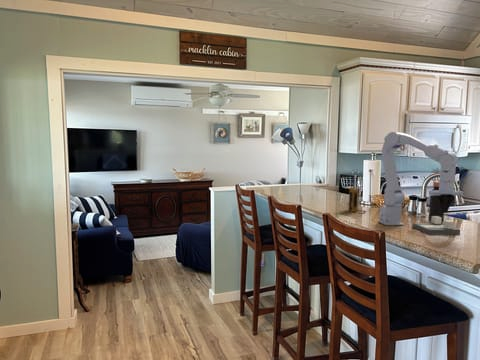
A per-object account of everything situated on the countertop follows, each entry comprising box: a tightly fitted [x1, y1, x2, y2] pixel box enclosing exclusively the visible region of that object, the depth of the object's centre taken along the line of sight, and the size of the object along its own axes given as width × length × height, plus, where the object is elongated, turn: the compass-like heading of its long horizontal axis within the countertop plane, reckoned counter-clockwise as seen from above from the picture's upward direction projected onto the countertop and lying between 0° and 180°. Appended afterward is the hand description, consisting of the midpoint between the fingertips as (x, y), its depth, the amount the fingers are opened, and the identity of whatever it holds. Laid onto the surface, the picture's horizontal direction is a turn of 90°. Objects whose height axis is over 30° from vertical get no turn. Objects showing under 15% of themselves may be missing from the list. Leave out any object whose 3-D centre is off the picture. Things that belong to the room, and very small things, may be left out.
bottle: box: [428, 181, 445, 223], centre depth 186 cm, size 7×7×20 cm
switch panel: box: [412, 222, 461, 235], centre depth 166 cm, size 14×13×2 cm
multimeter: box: [347, 176, 369, 215], centre depth 208 cm, size 15×10×20 cm
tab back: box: [430, 216, 442, 224], centre depth 170 cm, size 3×3×3 cm
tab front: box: [443, 219, 456, 229], centre depth 161 cm, size 3×3×3 cm
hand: (444, 211), depth 161 cm, fingers closed
